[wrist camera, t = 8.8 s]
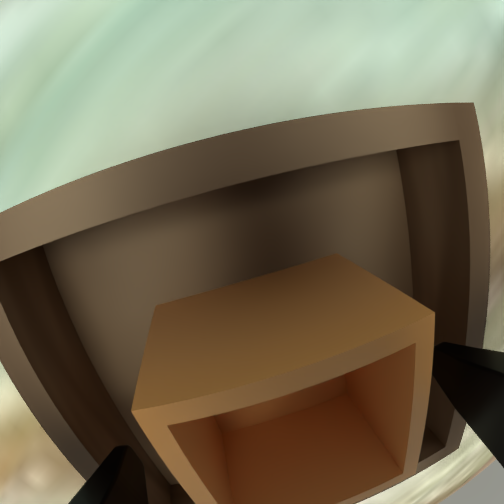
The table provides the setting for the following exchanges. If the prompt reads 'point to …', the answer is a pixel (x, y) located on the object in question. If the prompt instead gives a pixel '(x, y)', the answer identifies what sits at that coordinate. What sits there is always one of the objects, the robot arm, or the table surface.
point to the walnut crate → (237, 256)
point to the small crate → (288, 386)
